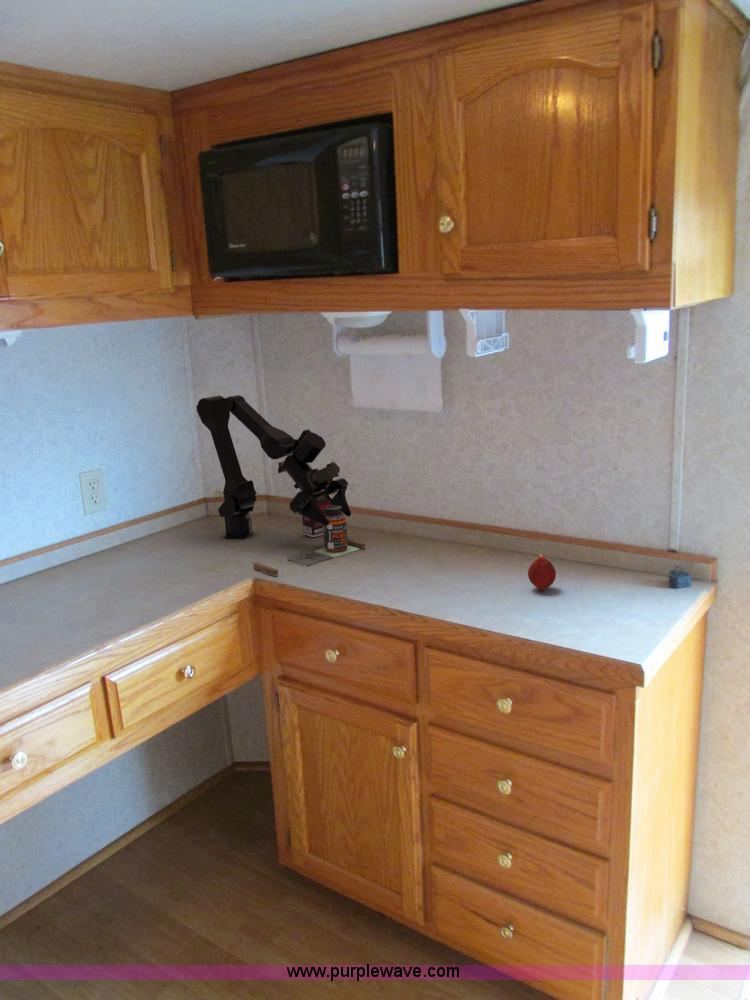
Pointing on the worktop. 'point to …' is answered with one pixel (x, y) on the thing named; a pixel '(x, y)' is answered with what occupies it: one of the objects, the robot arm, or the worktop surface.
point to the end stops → (275, 571)
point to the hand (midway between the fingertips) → (339, 520)
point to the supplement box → (313, 526)
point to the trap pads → (309, 558)
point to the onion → (541, 573)
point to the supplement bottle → (335, 530)
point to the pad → (336, 554)
